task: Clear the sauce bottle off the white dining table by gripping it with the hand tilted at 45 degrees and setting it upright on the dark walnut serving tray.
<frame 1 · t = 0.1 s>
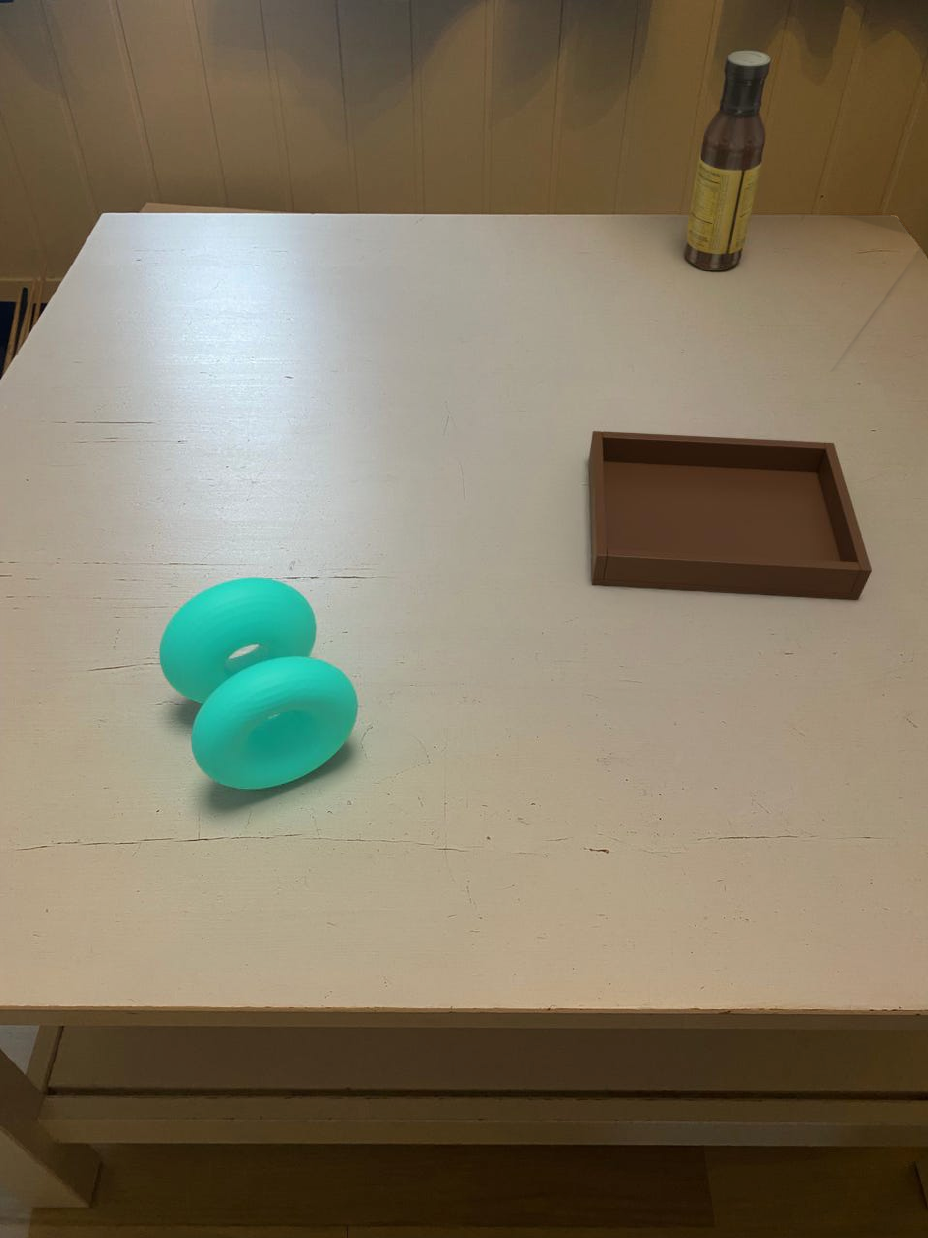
sauce bottle: (709, 260, 103), on the table
serving tray: (714, 525, 75), on the table
donuts: (270, 731, 62), on the table
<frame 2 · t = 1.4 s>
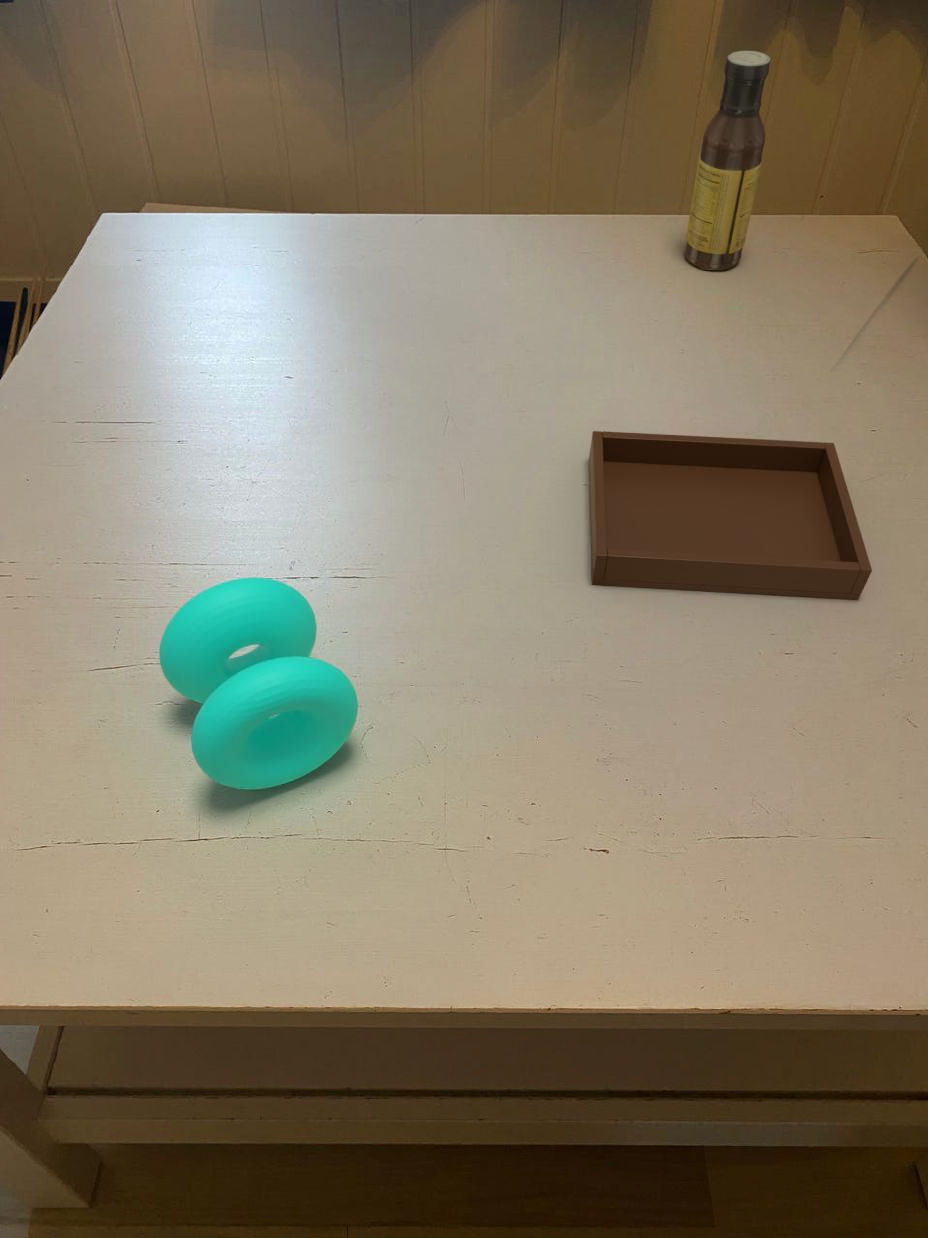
nothing on the table moved.
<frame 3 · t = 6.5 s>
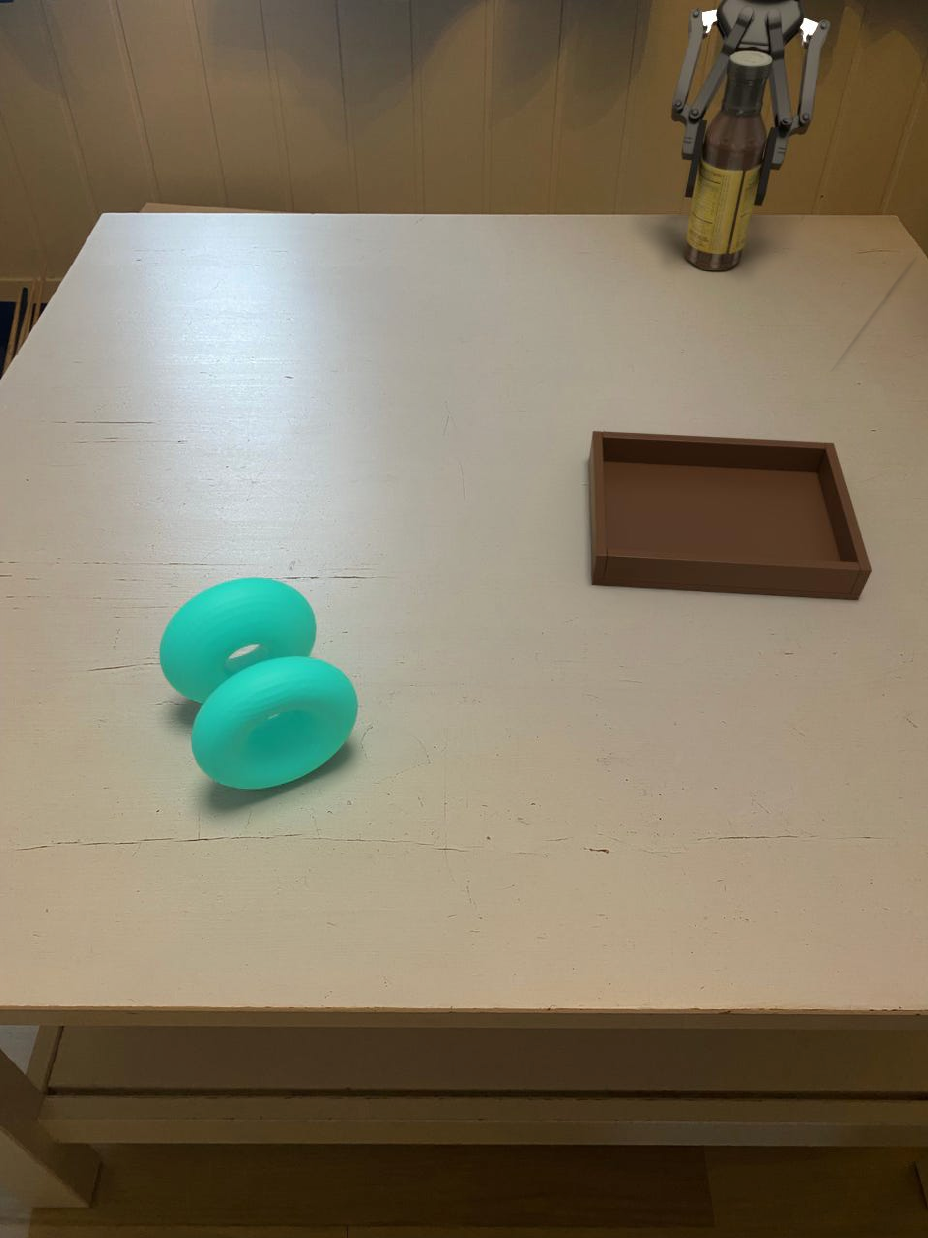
hand: (724, 195, 94), 8 cm above the table, tool tilted 45°, fingers closed on sauce bottle, 6 cm apart
sauce bottle: (709, 259, 103), on the table, touching gripper
everything else where it was.
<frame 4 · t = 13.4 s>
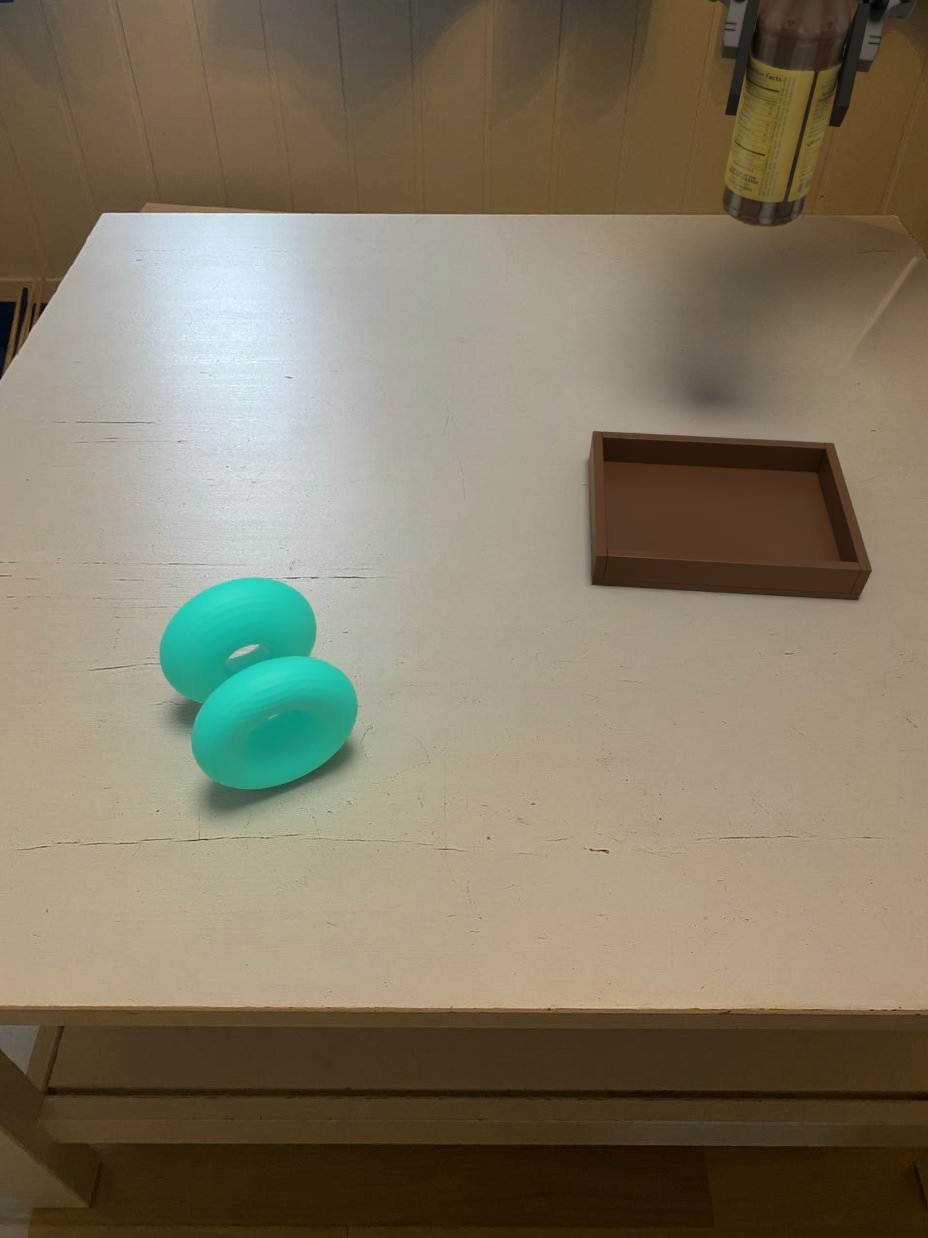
hand: (785, 110, 63), 26 cm above the table, tool tilted 45°, fingers closed on sauce bottle, 6 cm apart
sauce bottle: (757, 213, 72), point 18 cm above the table, touching gripper
everything else where it was.
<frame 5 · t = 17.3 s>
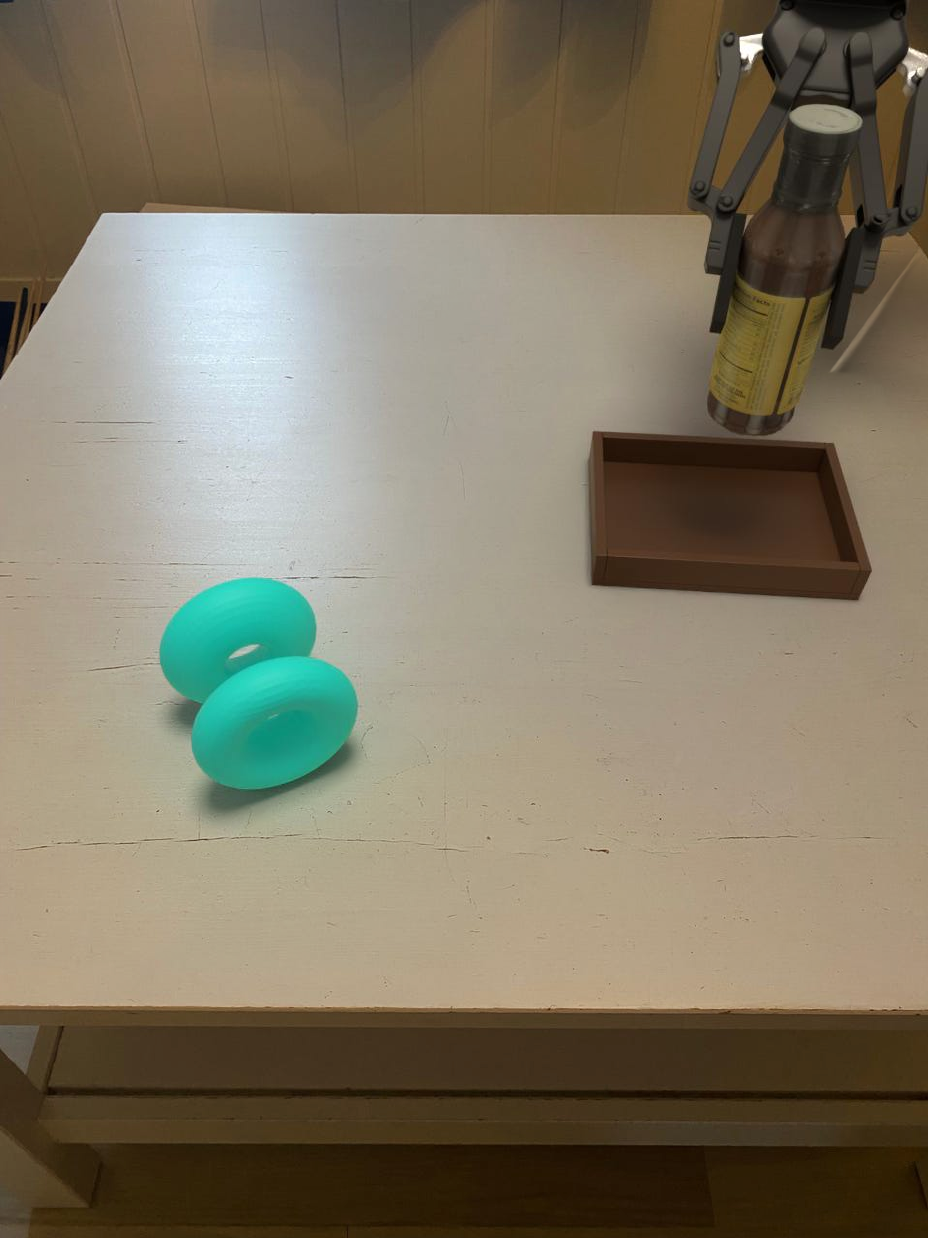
hand: (774, 334, 58), 19 cm above the table, tool tilted 45°, fingers closed on sauce bottle, 6 cm apart
sauce bottle: (744, 415, 67), point 11 cm above the table, touching gripper
everything else where it was.
when the fingers open (9 cm above the table, at t = 20.4 s): sauce bottle stays where it is, resting on serving tray.
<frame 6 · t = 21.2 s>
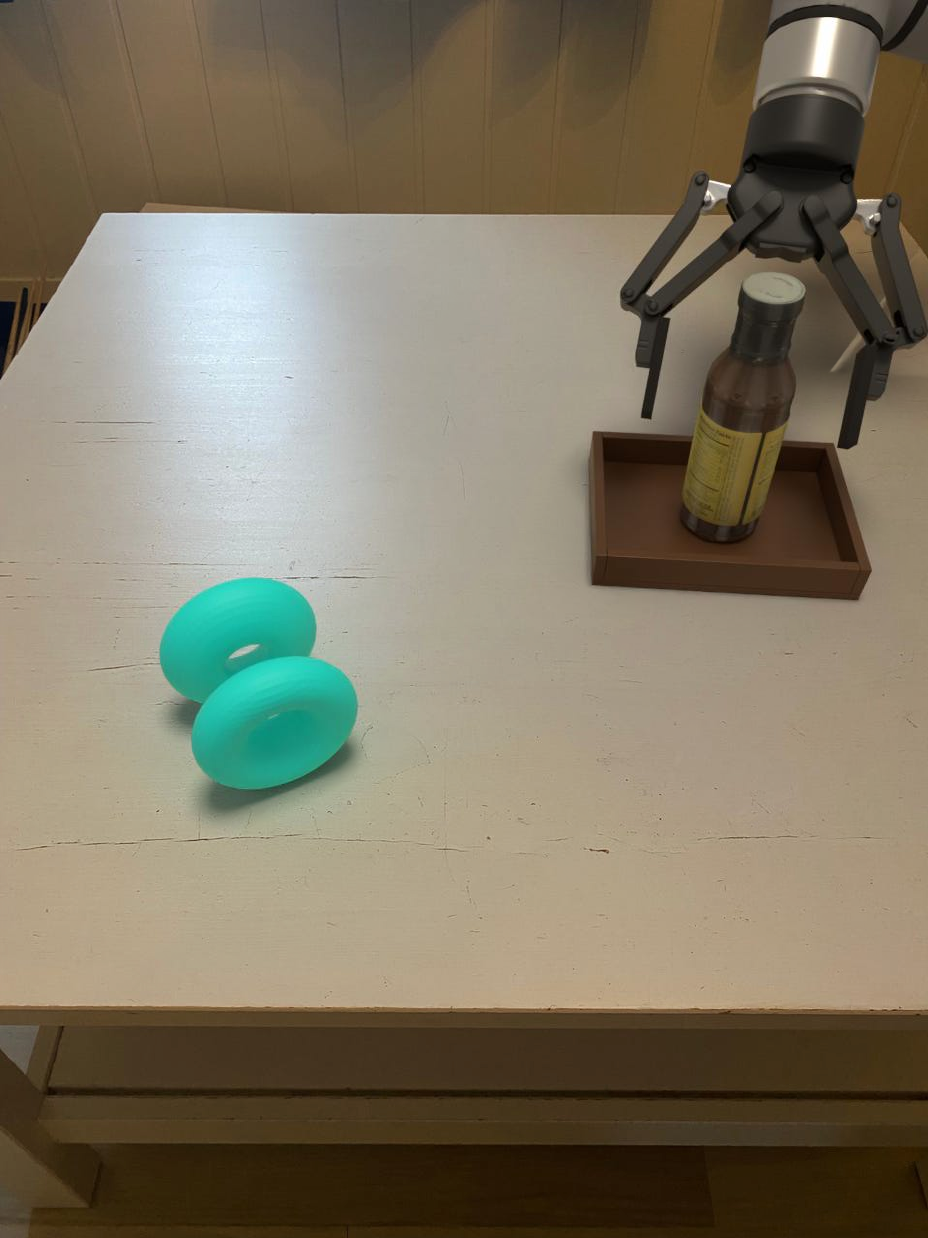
hand: (744, 431, 65), 11 cm above the table, tool tilted 45°, fingers open, 13 cm apart
sauce bottle: (714, 520, 74), resting on serving tray
everything else where it was.
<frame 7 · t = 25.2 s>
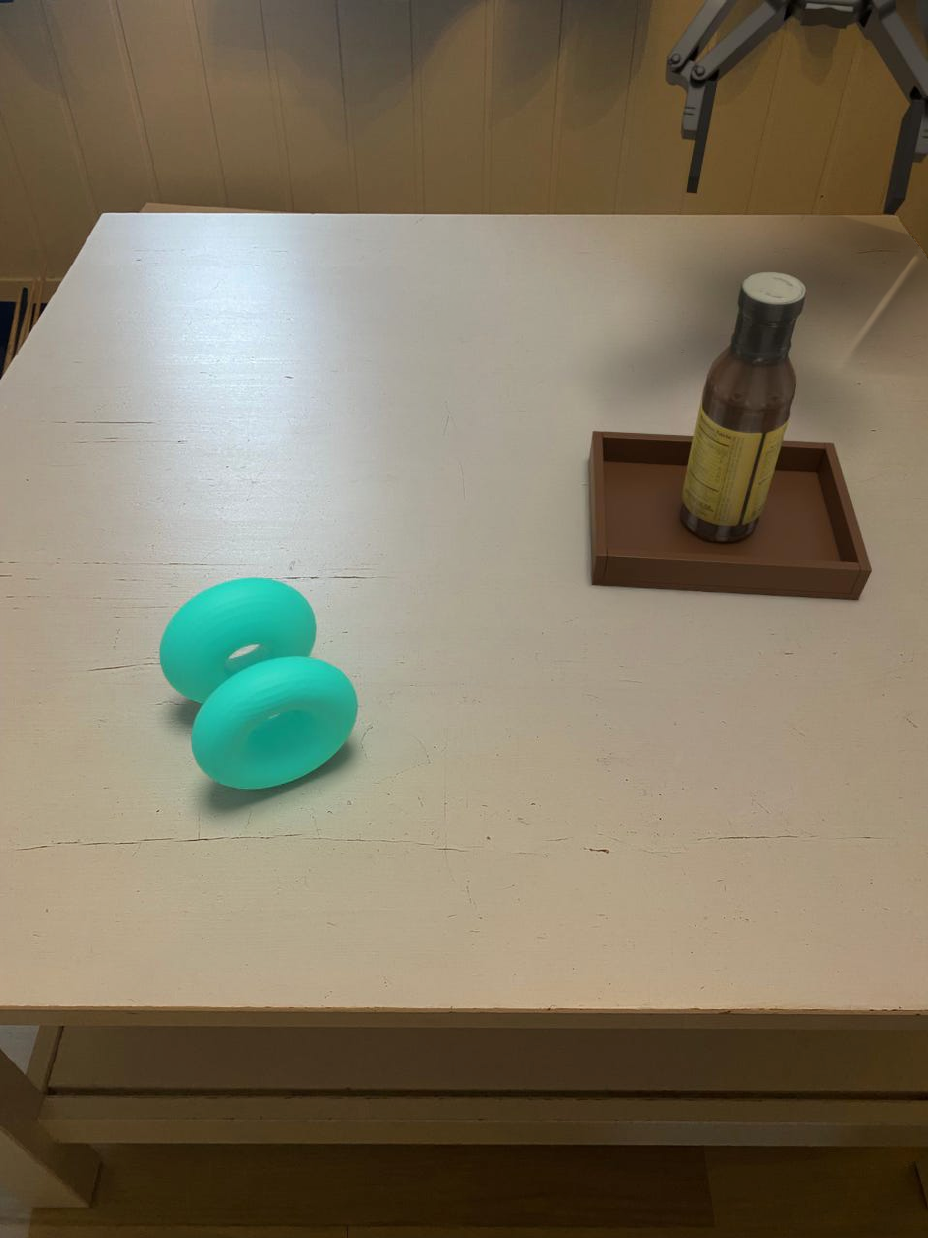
hand: (791, 196, 65), 21 cm above the table, tool tilted 45°, fingers open, 13 cm apart
nothing on the table moved.
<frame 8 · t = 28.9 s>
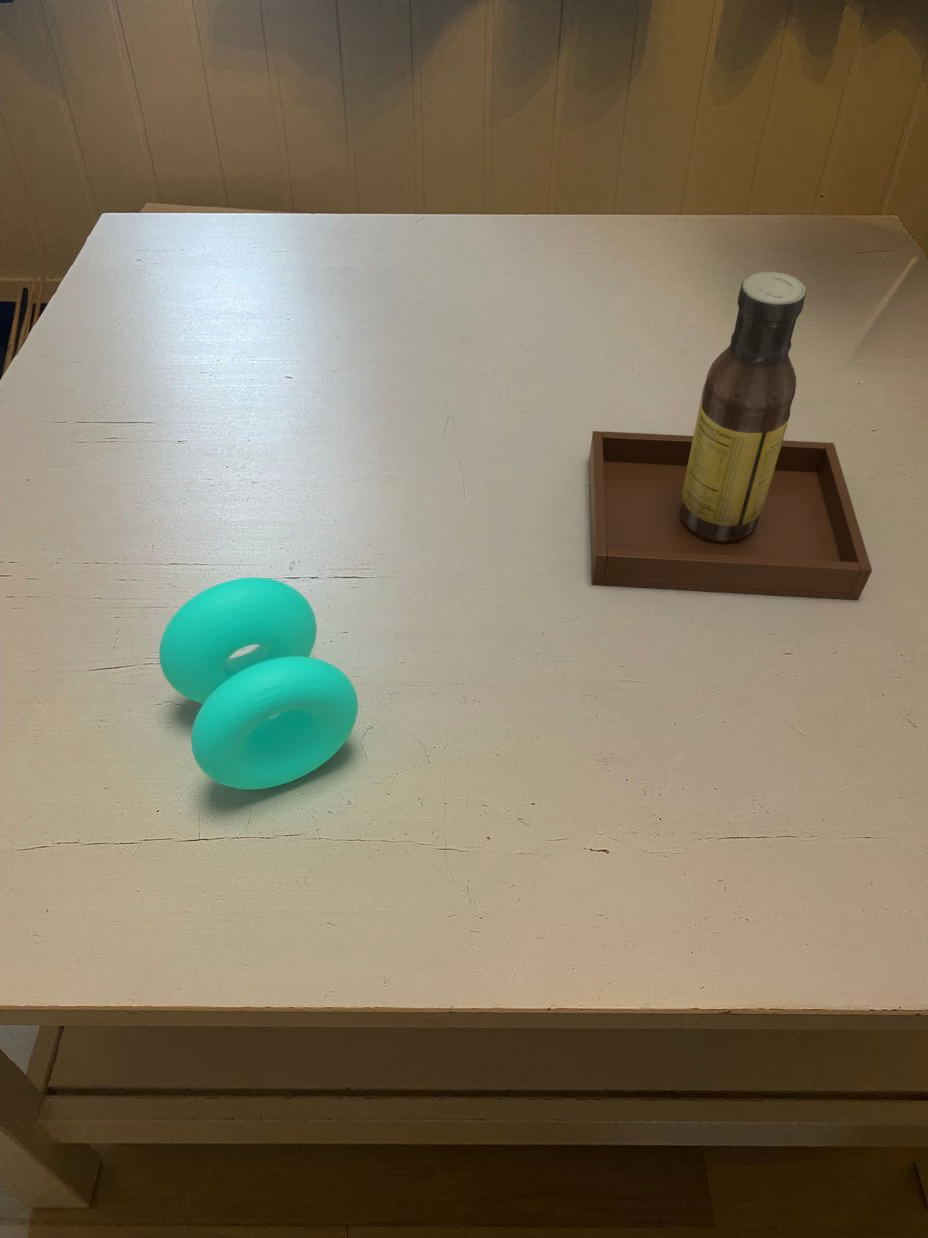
nothing on the table moved.
at the end: sauce bottle inside the target area in the serving tray (0.1 cm from its centre), point 0.4 cm above the serving tray's base; sauce bottle tilted 0°; the gripper is holding nothing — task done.
